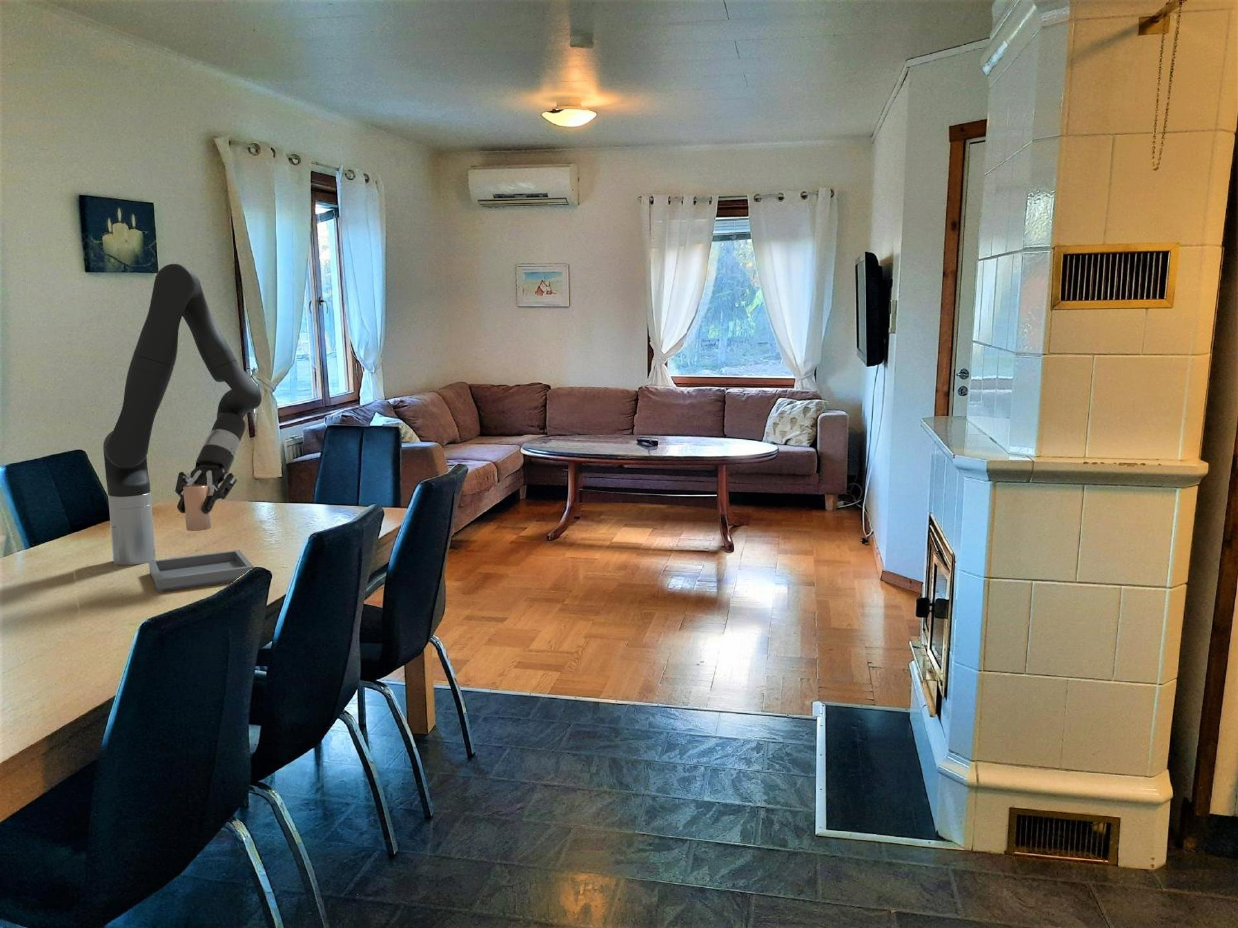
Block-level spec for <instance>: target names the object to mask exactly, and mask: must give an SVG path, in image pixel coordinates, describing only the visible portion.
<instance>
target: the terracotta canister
mask: <svg viewBox="0 0 1238 928" xmlns="http://www.w3.org/2000/svg"><path fill="white" fill-rule="evenodd" d="M183 493H184V505H185V513H184V514H185V528H186V531H190V532H198V531H199V532H200V531H207V530H210V529H211V528H212V523H211V511H210V512H209V513H208V514H204V513H203V512H202V510H201V508H202V505H203V503H204V501H205V498H206V497H207V496H209V495H208V485H206V484H194V485H187V486H184V487H183Z"/></svg>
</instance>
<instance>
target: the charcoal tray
mask: <svg viewBox="0 0 1238 928" xmlns="http://www.w3.org/2000/svg"><path fill="white" fill-rule="evenodd" d="M148 565H149V566H148V567H149V574H150V577H151V579H152V582H153V584H154V586H155V588H156V591H157V593H158V594H161V593H168V592H174V591H181V590H188V589H195V588H196V589H197V588H203V587H204V588H205V587H209V586H215V585H216V586H217V585H218V586H219V585H223V584H231V583H232V584H233V583H234V582H233V581H235V580H236V579H237V578H239V577H240V576H242V575H243V574H245V573H246V572H247V571H248V570H250V569H253V568H254V565H253V564H252V563H251V561H249V559H248V558H247V557H246V556H245V554H243V553H242V551H241V550H240V549H237V550H235V549H234V550H228V551H221V552H220V551H219V552H212V553H205V554H196V555H187V556H180V557H179V556H178V557H172V558H170V557H169V558H164V559H163V558H162V559H155V560H153V561H149V562H148ZM254 569H255V568H254Z"/></svg>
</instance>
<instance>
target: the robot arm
mask: <svg viewBox="0 0 1238 928" xmlns="http://www.w3.org/2000/svg"><path fill="white" fill-rule="evenodd" d="M154 278H155V279H154V283H153V288H152V294H151V298H150V304H149V308H148V313H147V315H146V318H145V321H144V324H143V326H142V329H141V331H140V335H139V337H138V340H137V343H136V346H135V348H134V350H133V354H132V358H131V361H130V363H129V366H128V370H127V374H126V378H125V379H126V380H125V386H124V392H123V400H122V401H123V402H122V407H121V411H120V414H119V416H118V419H117V421H116V423H115V425H114V428H113V431H112V430H111V432H109V433H108V434H107V435H106V437H105V438H104V441H103V444H102V445H103V447H102V449H103V461H104V468H105V469H104V471H105V480H106V489H107V497H108V498H107V499H108V500H107V501H108V508H109V509H108V510H109V511H108V512H109V520H110V521H109V522H110V524H109V528H110V529H109V530H110V538H111V551H112V561H113V564H114V566H133V565H142V564H145V563H149V561H154V560H157V559H156V545H155V542H156V541H155V531H154V520H153V518H154V517H153V509H152V508H153V506H152V495H151V494H152V493H151V482H150V478H149V470H148V469H149V468H148V459H147V457H148V456H147V455H148V452H149V447H150V442H151V435H152V431H153V430H152V429H153V425H154V422H155V418H156V415H157V412H158V410H159V408H160V405H161V403H162V401H163V399H164V396H165V394H166V391H167V389H168V386H169V384H170V381H171V377H172V375H173V371H174V368H175V365H176V361H177V356H178V355H177V354H178V347H179V346H178V343H179V330H180V329H179V328H180V323H181V320H182V317H183V319H184V321H185V323H186V325H187V326H188V328H189V330H190V332H191V335H192V338H193V340H194V342H195V345H196V348H197V351H198V353H199V355H200V357H201V359H202V361H203V363H204V364H205V367H206V369H207V370H208V372H209V374H210V376H211V377H212V379H213V380H214V381H215V382H217V383H224V382H225V383H226V385H227V386H228V387H229V388H230V390H228V391H227V392H225V393H224V394H223V395H222V396H221V399H220V400H219V402H218V405H217V412H216V419H215V421H214V424H213V426H212V428H211V430H210V432H209V434H208V436H207V437H206V439H205V441H204V443H203V445H202V447H201V449H200V452H199V454H198V456H197V459H196V461H195V467H194V468H193V469H192V470H191V471H190V472H189V473H188V472H187V473H185V472H184V471H179V473H178V474H177V478H176V479H177V480H176V485H175V489H174V492H175V493H176V494H177V495H178V497H180V498H179V501H178V503H177V505H176V509H177V510H178V511H179V513H180V514H185V505H184V493H183V487H184V486H187V485H194V484H206V485H208V495H209V496H207V497H206V498H205V501H204V503H203V505H202V508H201V510H202V512H203V513H204V514H208V513H209V512H210V513H211V511H213V508H214V506H215V504H216V501H218V500H220V499H221V500H225V499H226V498H227V497H228V495H229V493H230V492H231V491H232V489H233V488H234V486H235V484H236V483H237V481H238V480H237V478H236V476H235V475H234V474H233V473H232V472H230V473H229V471H230V469H231V467H232V465H233V463H234V460H235V457H236V456H237V452H238V450H239V446H240V443H241V440H242V438H243V436H244V433H245V431H246V422H245V420H244V418H245V416H246V414H249V413H250V412H252V411H253V410H255V409H257V408H258V407H260V405H261V403H262V398H263V397H262V393H261V390H260V388H259V386H258V385H257V384H256V382H255V381H254V380H253V379H252V378H251V377H250V375H249V374H248V373H247V372H246V370H244V369H243V368H242V367H241V366H240V364H239V363H238V361H237V358H236V357H235V355H234V352H233V351H232V349H231V348H230V345H229V344H228V341H226V339H225V337H224V335H223V334H222V332H221V330H220V328H219V327H218V325H217V323H216V320H215V319H214V316H213V315H212V313H211V310H210V308H209V305H208V302H207V300H206V297H205V294H204V290H203V288H202V285H201V281H200V279H199V277H198V276H197V274H195V272H193V271H192V270H190V269H189V268H187V266H185V265H183V264H178V263H170V264H166V265H164V266H163V267H162V268H160V269H159V270H158V272H157V273H156V276H155V277H154Z"/></svg>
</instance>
